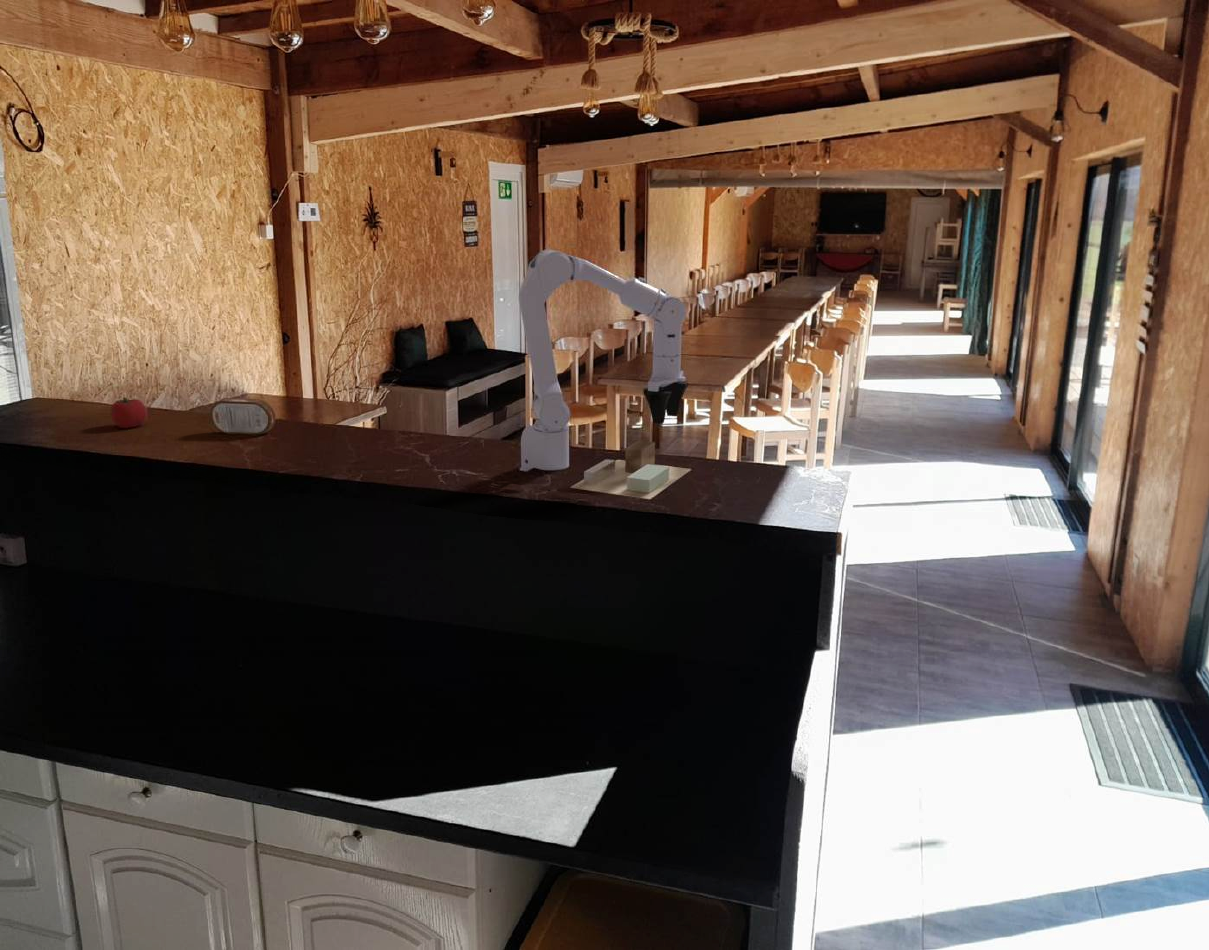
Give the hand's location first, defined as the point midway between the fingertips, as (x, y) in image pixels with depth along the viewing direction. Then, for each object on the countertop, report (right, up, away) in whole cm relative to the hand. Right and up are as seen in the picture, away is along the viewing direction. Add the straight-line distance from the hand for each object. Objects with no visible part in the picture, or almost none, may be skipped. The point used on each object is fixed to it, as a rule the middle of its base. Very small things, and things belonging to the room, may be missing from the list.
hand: (665, 419), depth 197 cm
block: (-5, -10, -5) cm, 13 cm away
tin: (-98, -2, +26) cm, 102 cm away
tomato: (-128, 0, +32) cm, 132 cm away
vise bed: (-7, -13, -11) cm, 19 cm away
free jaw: (-4, -13, -16) cm, 21 cm away
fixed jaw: (-14, -13, -11) cm, 22 cm away
